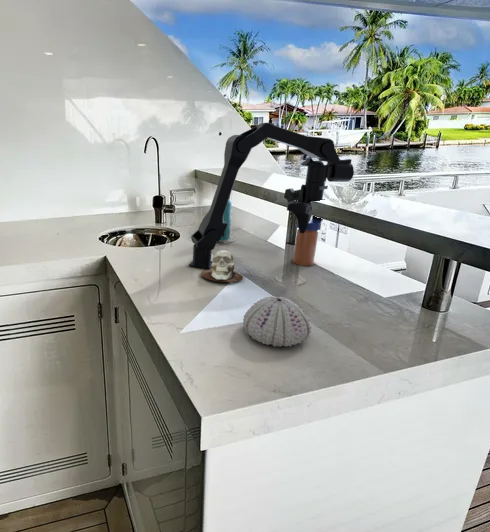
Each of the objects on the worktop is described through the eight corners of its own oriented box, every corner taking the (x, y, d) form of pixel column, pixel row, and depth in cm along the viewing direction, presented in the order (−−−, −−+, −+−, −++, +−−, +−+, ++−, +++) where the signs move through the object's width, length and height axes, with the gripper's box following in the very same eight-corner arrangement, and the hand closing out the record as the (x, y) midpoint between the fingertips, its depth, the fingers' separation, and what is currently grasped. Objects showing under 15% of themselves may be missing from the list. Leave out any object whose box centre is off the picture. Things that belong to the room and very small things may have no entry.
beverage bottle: (230, 244, 142) (235, 190, 135) (212, 244, 142) (216, 190, 135) (227, 240, 148) (232, 188, 141) (210, 239, 148) (214, 187, 142)
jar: (313, 266, 120) (320, 226, 116) (292, 264, 122) (298, 224, 118) (313, 260, 126) (319, 222, 121) (293, 258, 128) (298, 220, 123)
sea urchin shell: (320, 351, 73) (327, 314, 70) (251, 353, 72) (256, 315, 69) (292, 319, 85) (297, 286, 83) (233, 320, 84) (236, 287, 82)
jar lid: (304, 224, 125) (305, 217, 124) (324, 228, 120) (325, 221, 119) (292, 227, 120) (293, 220, 120) (312, 231, 115) (313, 224, 115)
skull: (244, 283, 102) (220, 254, 101) (214, 302, 107) (191, 274, 106) (249, 268, 112) (227, 241, 112) (221, 286, 117) (201, 260, 116)
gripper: (307, 177, 127) (300, 223, 132) (274, 180, 115) (268, 230, 121) (340, 180, 119) (331, 229, 124) (308, 184, 107) (300, 238, 113)
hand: (307, 231), depth 120 cm, fingers closed on jar lid, 7 cm apart
